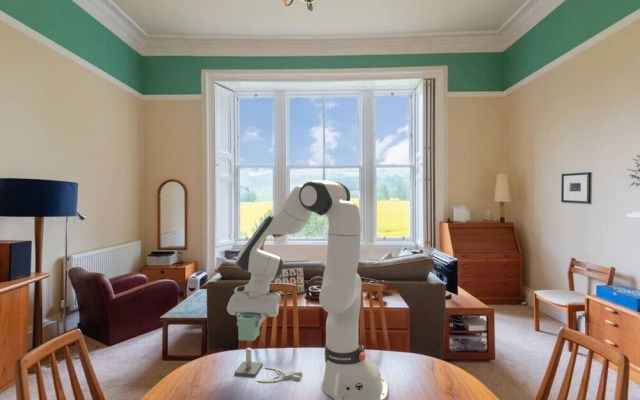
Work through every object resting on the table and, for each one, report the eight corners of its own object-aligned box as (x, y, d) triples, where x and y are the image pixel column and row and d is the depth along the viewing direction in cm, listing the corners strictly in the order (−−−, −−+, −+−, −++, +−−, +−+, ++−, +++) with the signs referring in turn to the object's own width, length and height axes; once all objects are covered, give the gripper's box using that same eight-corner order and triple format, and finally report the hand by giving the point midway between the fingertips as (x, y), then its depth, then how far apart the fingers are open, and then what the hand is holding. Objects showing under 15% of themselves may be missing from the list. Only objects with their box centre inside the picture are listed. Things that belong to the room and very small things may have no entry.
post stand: (262, 365, 128) (262, 345, 127) (255, 376, 120) (254, 355, 120) (243, 363, 129) (242, 343, 129) (234, 374, 121) (234, 353, 121)
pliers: (265, 364, 126) (304, 367, 124) (265, 368, 126) (304, 371, 124) (257, 378, 116) (298, 382, 114) (257, 383, 116) (298, 386, 114)
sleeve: (259, 334, 127) (259, 313, 127) (253, 340, 121) (253, 319, 121) (245, 333, 128) (244, 312, 128) (238, 339, 122) (238, 318, 122)
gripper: (283, 297, 133) (276, 330, 124) (236, 295, 137) (226, 328, 128) (280, 289, 129) (272, 323, 120) (231, 287, 133) (220, 321, 123)
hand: (248, 326), depth 124 cm, fingers closed on sleeve, 6 cm apart
